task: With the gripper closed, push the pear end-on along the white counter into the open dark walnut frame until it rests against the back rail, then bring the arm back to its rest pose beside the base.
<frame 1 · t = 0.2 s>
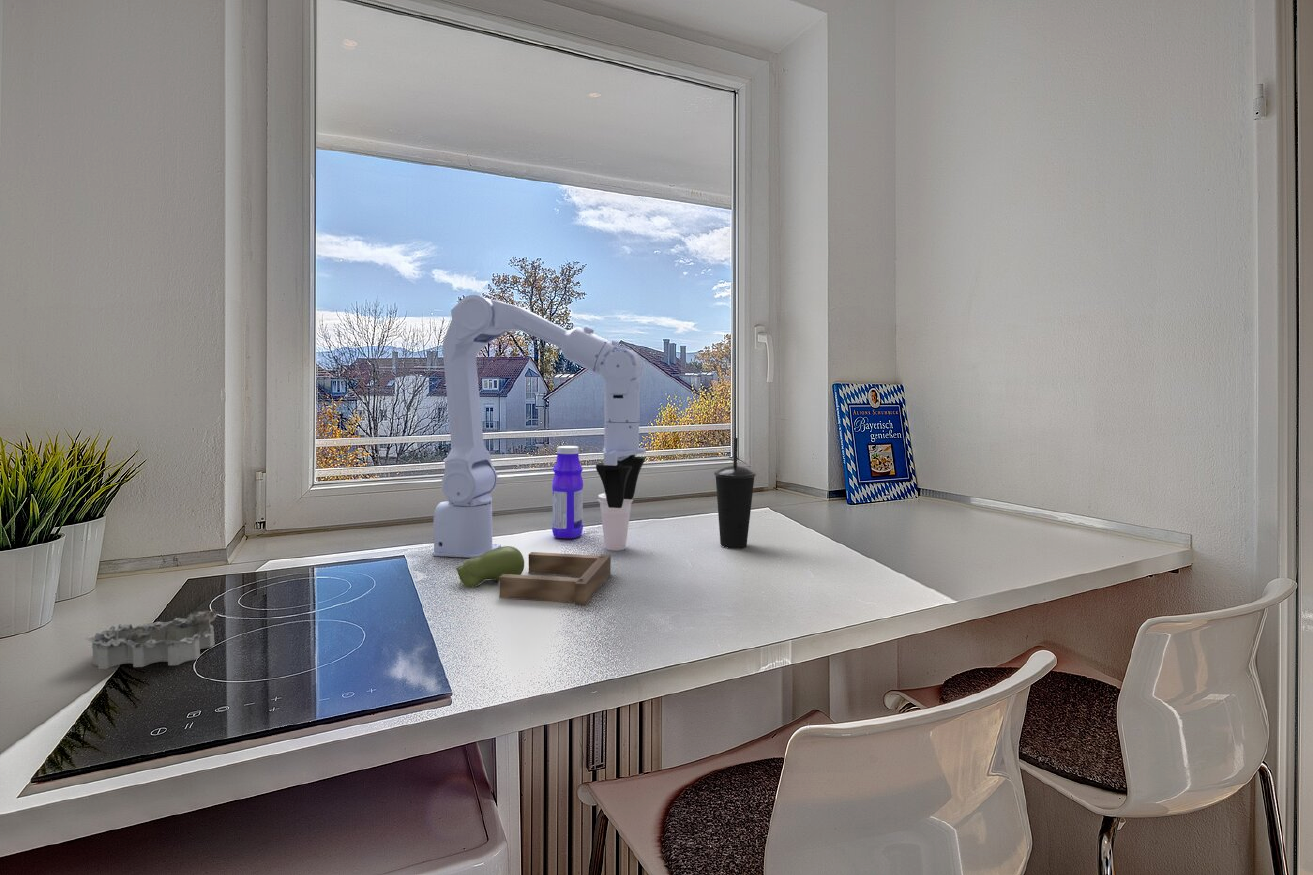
hand: (621, 503, 114), 10 cm above the counter, tool pointing down, fingers open, 7 cm apart
walnut frame: (554, 585, 102), on the counter
bottle: (567, 536, 132), on the counter
drinking cup: (733, 546, 126), on the counter
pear: (490, 583, 103), on the counter
egg carton: (155, 658, 76), on the counter
smoothie: (615, 548, 124), on the counter
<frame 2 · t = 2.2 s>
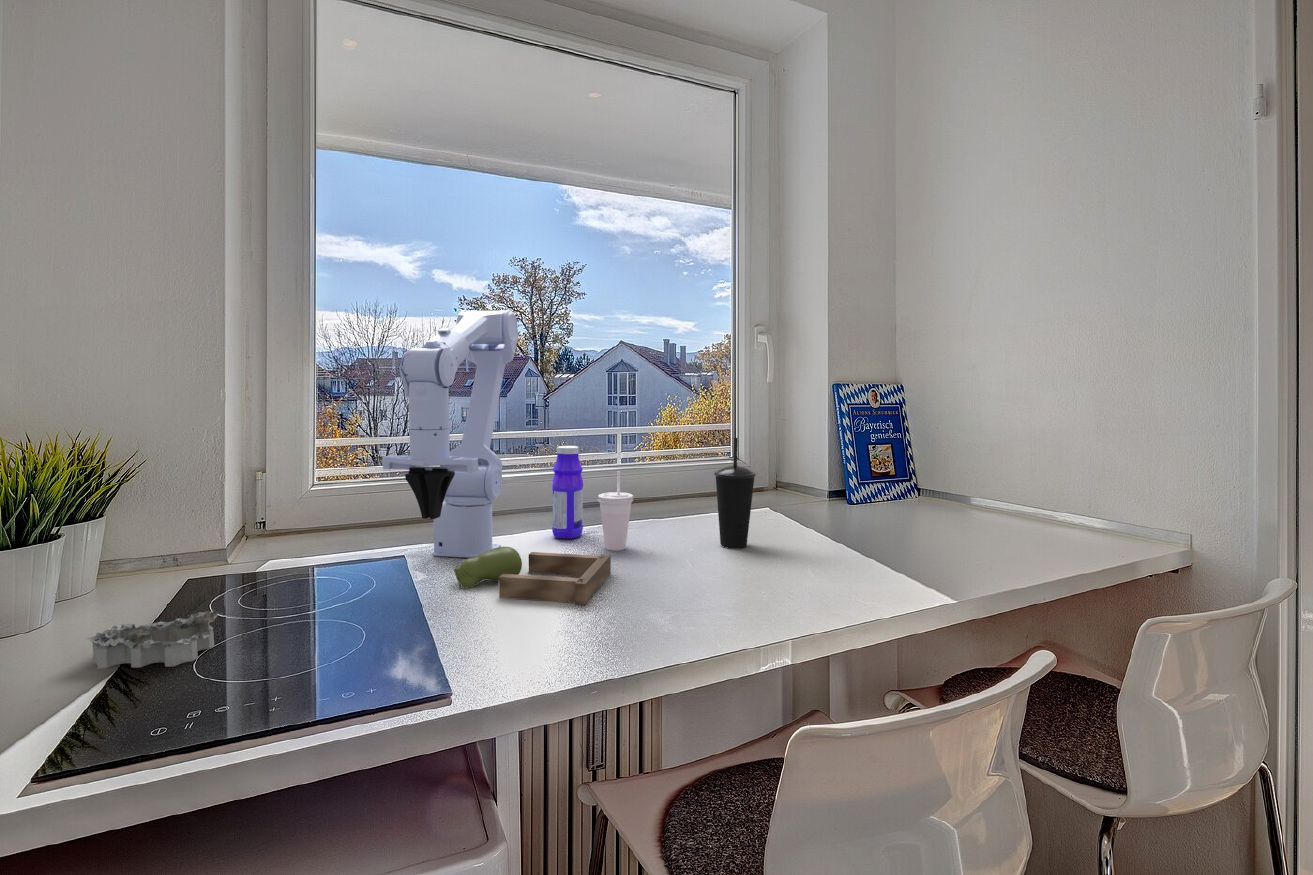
hand: (431, 517, 104), 9 cm above the counter, tool pointing down, fingers closed
nothing on the counter moved.
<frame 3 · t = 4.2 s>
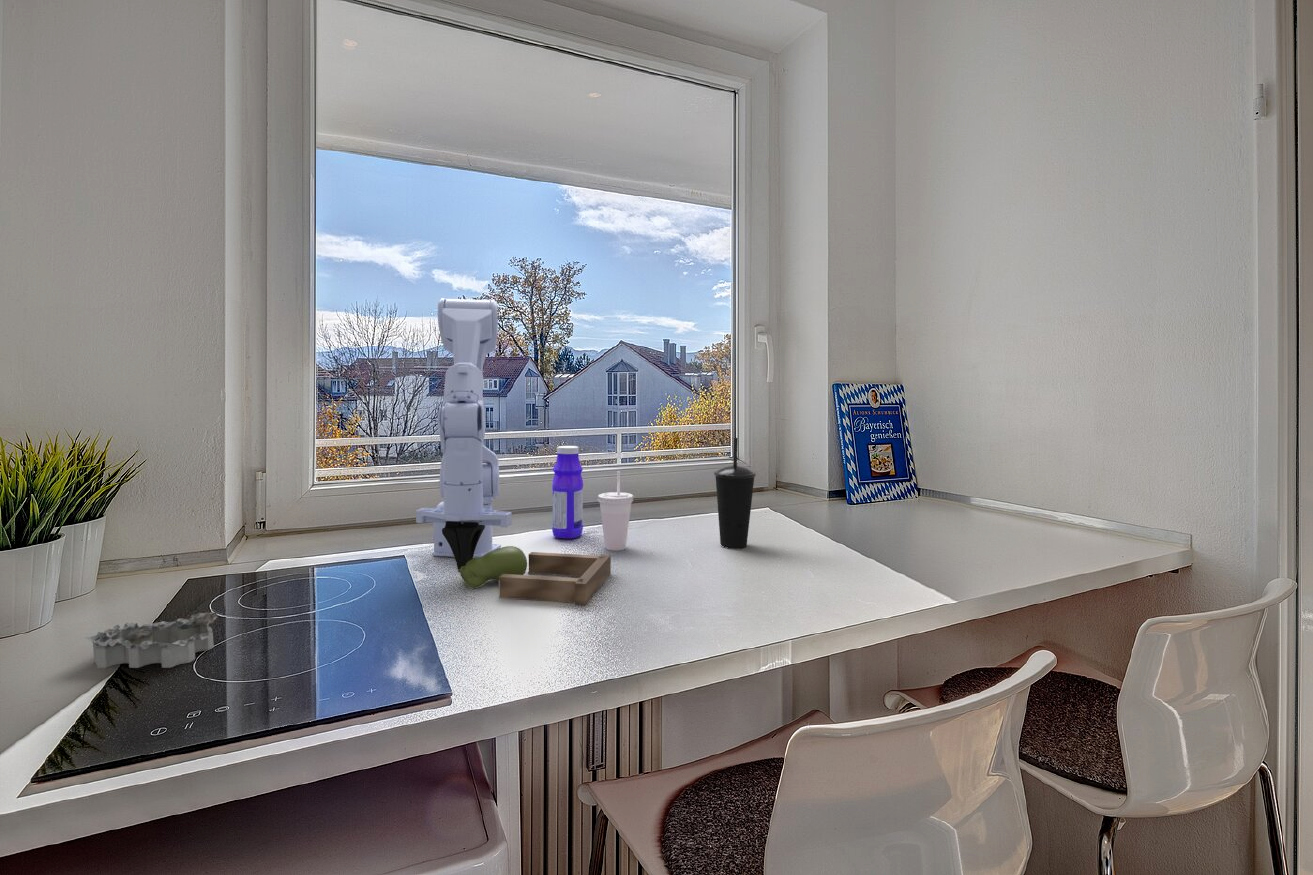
hand: (464, 570, 104), 1 cm above the counter, tool pointing down, fingers closed
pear: (493, 584, 103), on the counter, touching gripper
everything else where it was.
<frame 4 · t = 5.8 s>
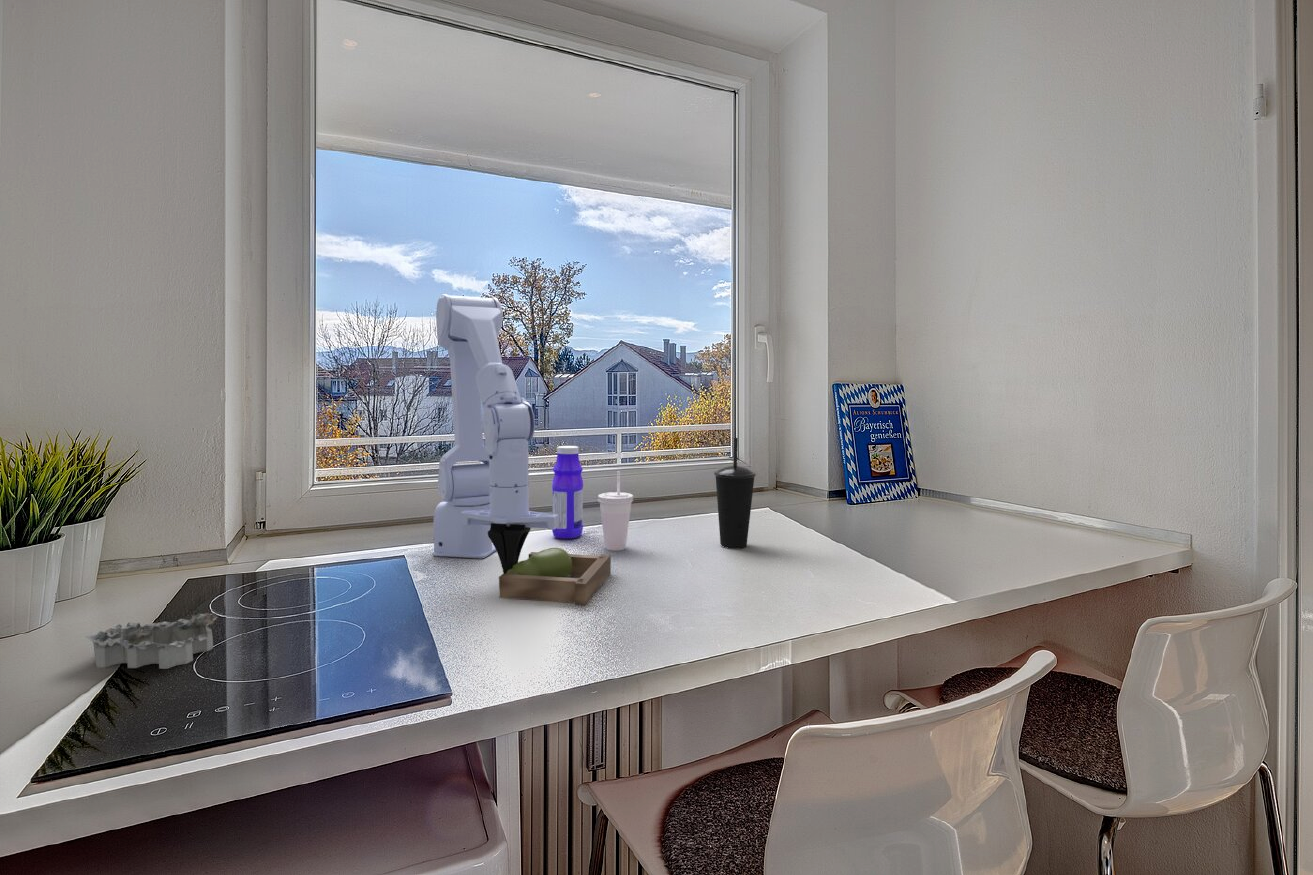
hand: (510, 573, 103), 1 cm above the counter, tool pointing down, fingers closed
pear: (539, 586, 102), on the counter, touching gripper
everything else where it was.
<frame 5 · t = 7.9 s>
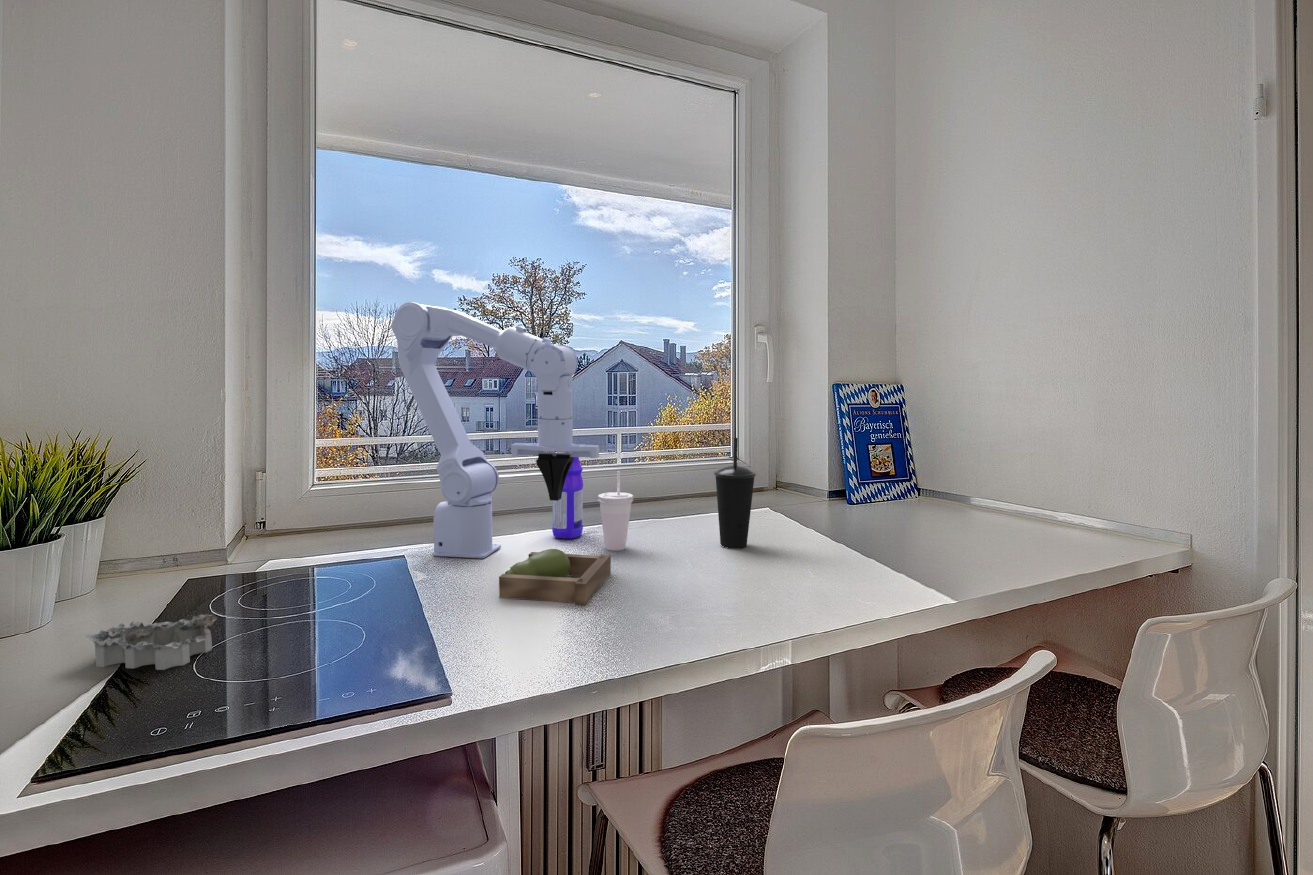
hand: (555, 499, 114), 10 cm above the counter, tool pointing down, fingers closed
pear: (537, 587, 102), on the counter
everything else where it was.
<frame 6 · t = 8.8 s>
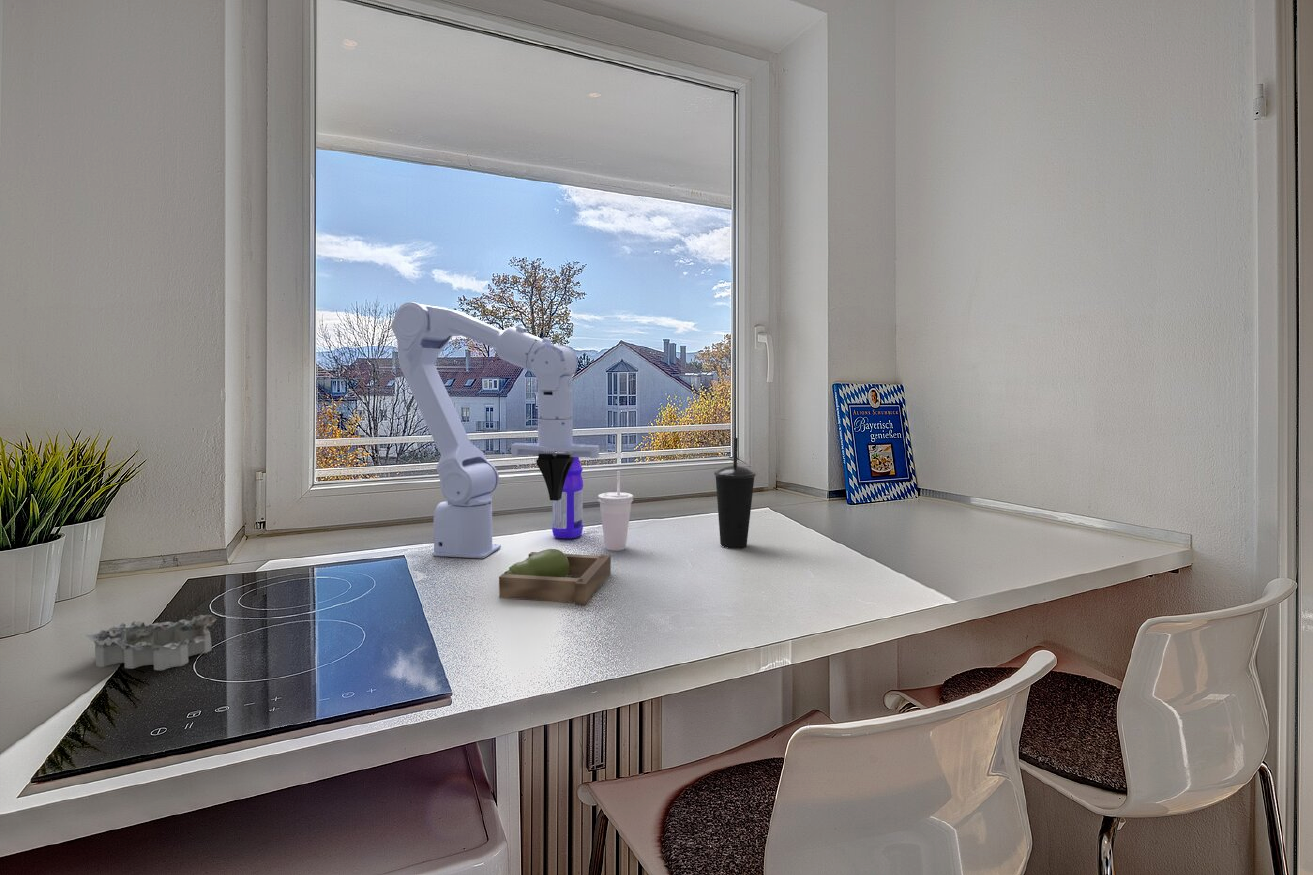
hand: (555, 499, 114), 10 cm above the counter, tool pointing down, fingers closed
nothing on the counter moved.
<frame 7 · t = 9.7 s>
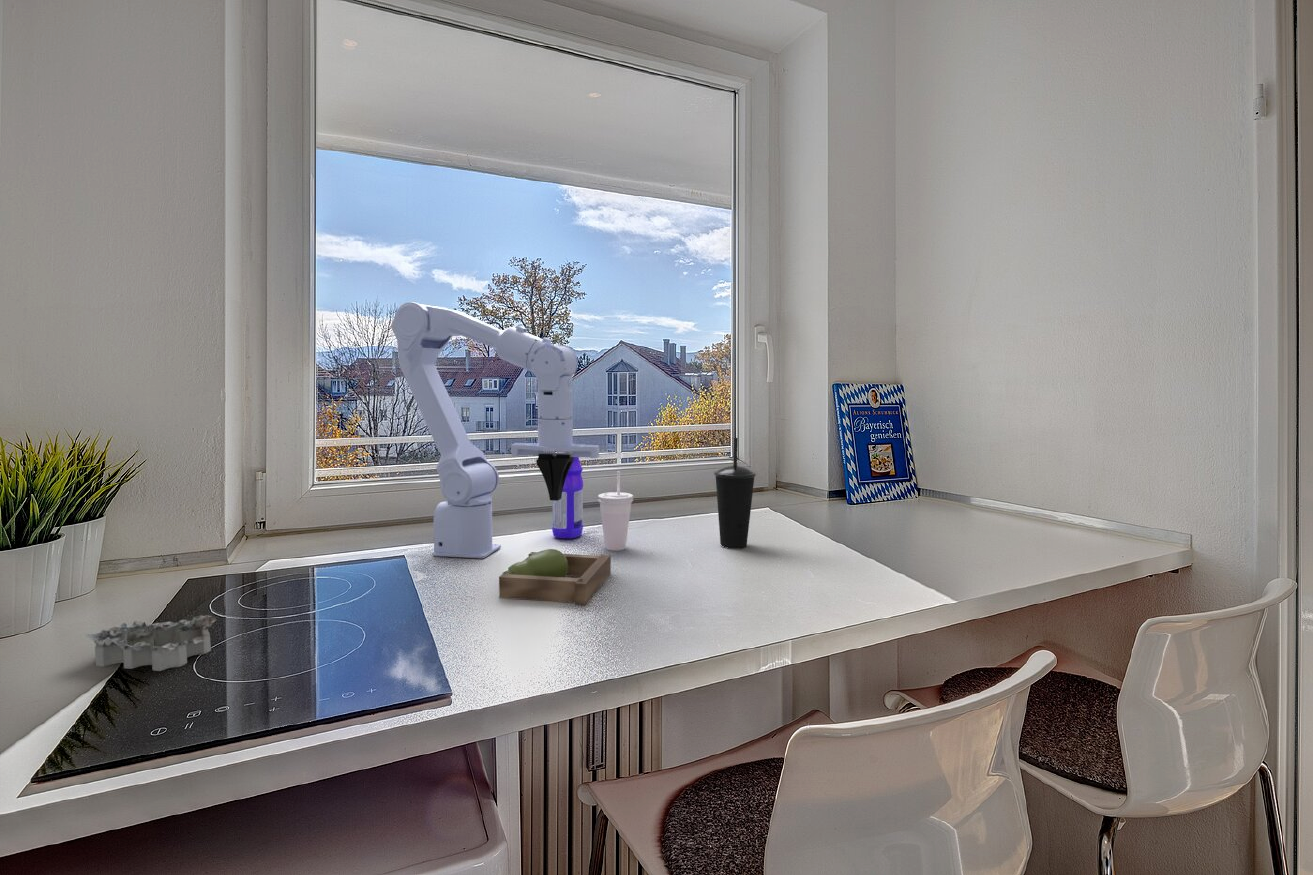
hand: (555, 499, 114), 10 cm above the counter, tool pointing down, fingers closed
at the end: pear inside the target area on the walnut frame (2.4 cm from its centre), point 0.0 cm above the walnut frame's base; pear moved 7.2 cm from its start; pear touching counter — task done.
